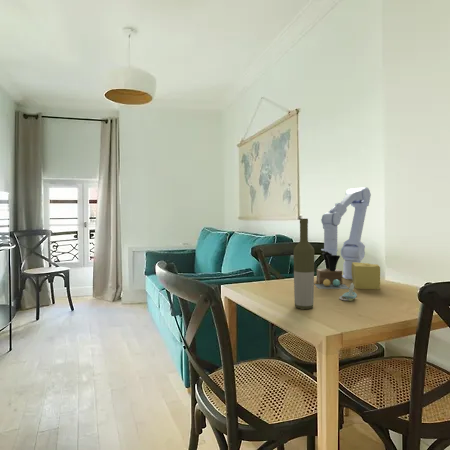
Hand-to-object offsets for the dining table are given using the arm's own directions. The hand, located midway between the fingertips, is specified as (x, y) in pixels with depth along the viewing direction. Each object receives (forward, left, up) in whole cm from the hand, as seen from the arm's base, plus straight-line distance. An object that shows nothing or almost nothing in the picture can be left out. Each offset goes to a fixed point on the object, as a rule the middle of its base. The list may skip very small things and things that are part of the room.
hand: (330, 269), depth 156 cm
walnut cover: (0, 0, -6) cm, 6 cm away
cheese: (+8, +13, -7) cm, 16 cm away
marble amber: (+8, -3, -6) cm, 11 cm away
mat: (+8, -1, -6) cm, 11 cm away
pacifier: (+29, 0, -7) cm, 30 cm away
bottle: (+41, -18, -6) cm, 45 cm away
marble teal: (+8, +1, -6) cm, 10 cm away
